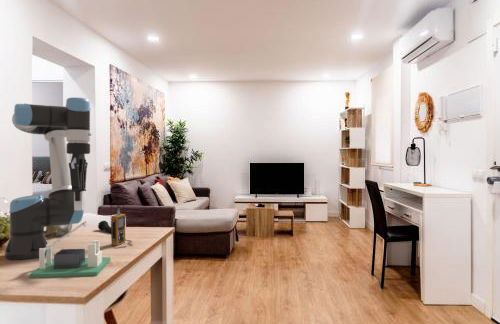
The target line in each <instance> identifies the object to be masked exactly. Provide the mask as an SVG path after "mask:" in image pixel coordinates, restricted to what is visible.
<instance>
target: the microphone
mask: <svg viewBox="0 0 500 324" xmlns="http://www.w3.org/2000/svg"><path fill="white" fill-rule="evenodd" d="M97 227H98V230H99V231H105V232H106V233H110V234H111V225H109V223H108V222H107V221H106V220H101V221H100V222H99V223H98V225H97Z"/></svg>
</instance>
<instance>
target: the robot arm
mask: <svg viewBox="0 0 500 324" xmlns="http://www.w3.org/2000/svg"><path fill="white" fill-rule="evenodd" d="M65 102H66V103H65V106H59V105H44V104H32V103H16V104H15V105H14V108H13V109H14V110H13V114H12V119H11V120H12V121H11V122H12V124H13V125H14V127H15V129H17V130H19V131H20V132H24V133H27V134H33V135H43V136H44V140H45V141H47V142H48V148H49V150H48V151H49V163H50V164H49V165H50V177H51V179H50V180H51V189H52V190H51V191H50V192H49V193H48V197H45V195H44V194H32V195H31V194H30V195H25V196H20V197H17V198H14V199H12V200H11V201H10V203H9V238H8V241H7V245H6V247H5V250H4V259H7V260H12V261H13V260H17V261H18V260H28V259H35V258H39V249H40V248H45V247H46V245H47V244H49V243H48V241H47V239H46V237H45V235H44V231H45V228H46V227H47V226H58V225H70V224H72V225H75V224H79V223H81V221H82V219H83V217H84V216H83V215H84V212H85V211H84V210H85V196H84V192H86V191H87V189H86V186H87V185H86V184H87V172H88V171H87V169H88V165H89V163H88V162H87V159H86V156H85V155H88V154H90V153H91V144H90V141H91V136H93V135H92V133H91V131H90V130H91V107H90V106H91V105H90V103H91V102H90V100H89V99H88V98H84V97H68V98H67V99H66V101H65ZM45 256H46V252H45Z"/></svg>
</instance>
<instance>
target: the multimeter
mask: <svg viewBox="0 0 500 324" xmlns="http://www.w3.org/2000/svg"><path fill="white" fill-rule="evenodd" d="M120 200H121V201H122V203H123V204H122V205H123V207H122V212H123V213H121V212H120V209H121V208H120V207H118V208H117V212H116V214H115V215H111V222H110V227H111V233H110V236H111V237H110V238H111V246H112V248H113V249H116V246H118V247H117V249H120V248H126V247H130V246H135V245H134V244H133V243H132V240H128V239H126V214H125V203H124V199H121V198H118V200H115V202H116V204H117V205H119V203H120ZM113 203H114V201H112V202H111V204H110V209H112V206H113ZM125 242H127V244H128V245H122V246H119V245H121V244H124V243H125Z"/></svg>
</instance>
